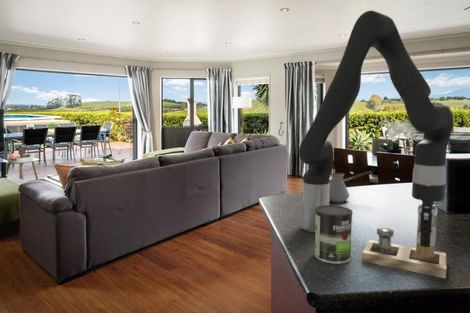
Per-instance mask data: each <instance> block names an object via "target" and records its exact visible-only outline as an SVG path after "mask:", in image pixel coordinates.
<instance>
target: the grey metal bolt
mask: <svg viewBox="0 0 470 313" xmlns="http://www.w3.org/2000/svg"><path fill="white" fill-rule="evenodd" d="M376 234H377V235H378V241H379V247H378V251H377V253H382V254H387V255H391V254H390V253H391V244H392V238H393V237H394V235H395V231H394V230H393V229H391V228H388V227H378V228H377V229H376Z"/></svg>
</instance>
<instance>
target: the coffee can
mask: <svg viewBox="0 0 470 313" xmlns="http://www.w3.org/2000/svg"><path fill="white" fill-rule="evenodd" d="M315 212H316V224H315V232H314V234H315V235H314V236H315V238H314V240H315V241H314V242H315V243H314V244H315V245H314V256H315V258H316V259H317V260H319V261H321V262H323V263H327V264H332V265H341V264H346V263H348V262H350V261H351V259H352V257H351V252H352V224H353V223H352V222H353V221H352V220H353V210H352V209H350V208H348V207H345V206H340V205H330V204H329V205H326V206H319V207H317V208H316V209H315Z"/></svg>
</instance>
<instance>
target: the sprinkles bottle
mask: <svg viewBox="0 0 470 313" xmlns="http://www.w3.org/2000/svg"><path fill="white" fill-rule="evenodd" d="M419 206H422V205H419V204H418V205H417V227H416V230H417V231H416V245H415V246H416V247H415V248H416V254H418V255H420V256H423V257H433V256H434V251H435V244H436V236H437V234H436V231H437V216H438V208H437V206H436V207H434V208H436V213H435V214H434V224H433V225H431V230H432V233H431V234H430V247H423V246H421V245H420V238H421V232H420V231H419V230H420V223H419V211H418V209H419ZM432 211H433V209H432ZM423 228H428V229H429V226H424V225H423Z"/></svg>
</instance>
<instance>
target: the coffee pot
mask: <svg viewBox="0 0 470 313" xmlns="http://www.w3.org/2000/svg"><path fill="white" fill-rule="evenodd" d="M368 174H371V175H373V173H372V171H371V170H368V171H364V172H362V173H358V174H356V175H353V176H351V177H348V178H345V179H344V176H345V173H341V172H332V174H331V176H330V182H329V202H331V201H332V202H331V203H344V201H345V202H346V201H347V200H348V199H349V197H350V194H349V190H348V188H347V186H346V181H347V182H348V181H350V180H353V179H356V178H359V177H363V176H365V175H368Z"/></svg>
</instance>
